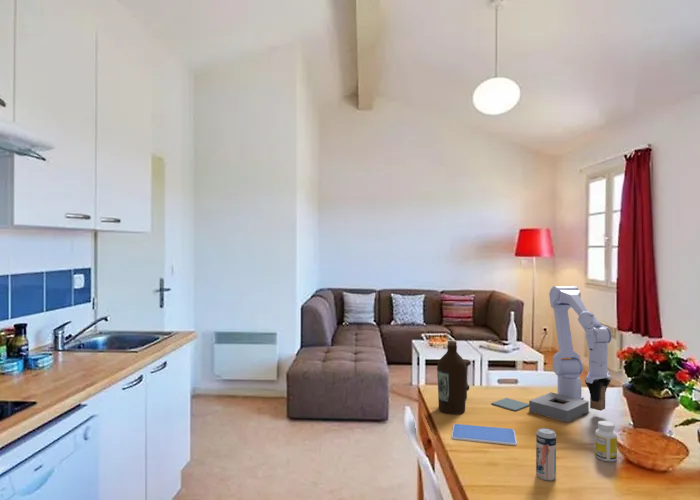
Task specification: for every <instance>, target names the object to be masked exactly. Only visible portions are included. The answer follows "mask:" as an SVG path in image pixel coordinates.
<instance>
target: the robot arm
mask: <svg viewBox="0 0 700 500" xmlns="http://www.w3.org/2000/svg"><path fill="white" fill-rule="evenodd" d="M548 294H549V295H548V296H549V302H550V307H551V308H552V309H553V315H554V322H555V330H556V336H557V337H556V338H557V345H558V351H557V352H556V353H554V355H553V356H552V370H553V372H554V374H555V375H556V376H557V394H560V395H565V396H569V397H573V398H577V399H581V400H584V399H585V397H584V396H582V379H581V378H580V376H581V375H582V374H583V371H584V364H583V362H582V359H581V355H580V354H578V353H577V352H576V351H575V350H574V347H573V340H572V339H573V338H572V333H571V324H570V319H569V309H573V311H574V312H575V314H577V315H578V317H577V320H578V323H579V324H580V326H581V327H582V328H583V330H584V332H585V338H586V342H587V348H588V373H587V376H586V377H585V379H584V382H585V384H586V386H587V388H588V389H587V390H588V391H589V392H588V393H589V395H590V396H591V400H592V401H596V402H598V401H599V398H600V391H601V388H602V386H603V385H604V386H605V393H607V389H608V387H609V385H610V384H611V380H612V379H611V377H612V376H611V374H610V370H608V344H609V343H610V342H611V341H612V332H611V330H610V328H609V327H608V326H605V325H603V324H601V322H600V321H599V319H598V318H597V317H596V315H595V314H594V313H593V312H592V311H588V309H587V308H586V306H585V303H584V302H583V301H582V298H581V291H580V289H579V287H578V286H577V285H569V286H561V285H560V286H557V285H553V286H552V287H551V288H550V290H549V292H548ZM590 396H589V397H590Z"/></svg>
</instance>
